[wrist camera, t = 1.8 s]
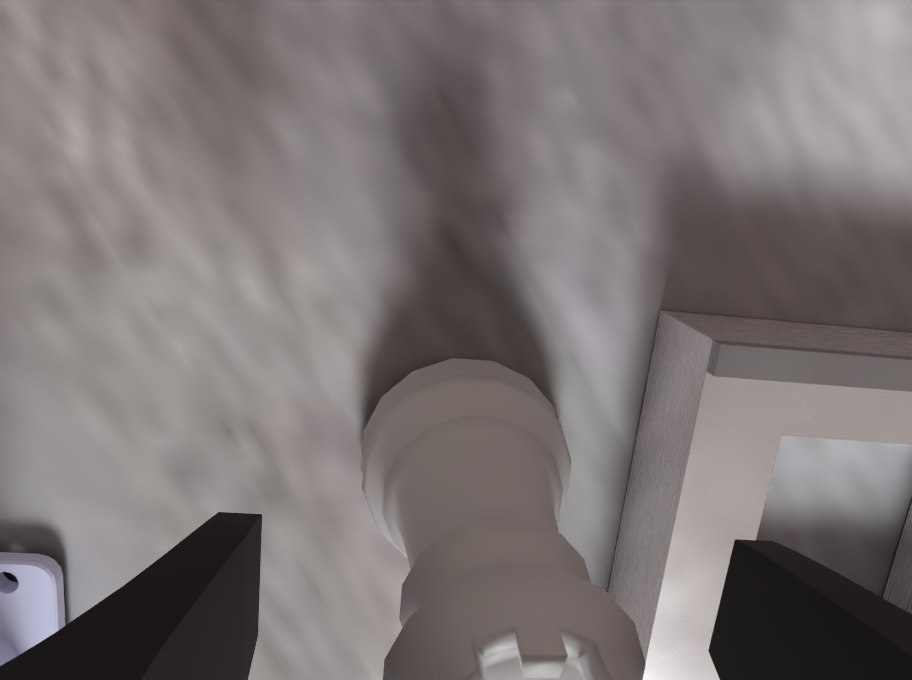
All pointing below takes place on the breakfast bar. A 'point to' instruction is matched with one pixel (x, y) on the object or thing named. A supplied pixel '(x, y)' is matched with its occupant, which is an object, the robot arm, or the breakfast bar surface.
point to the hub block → (738, 459)
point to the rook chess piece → (486, 534)
